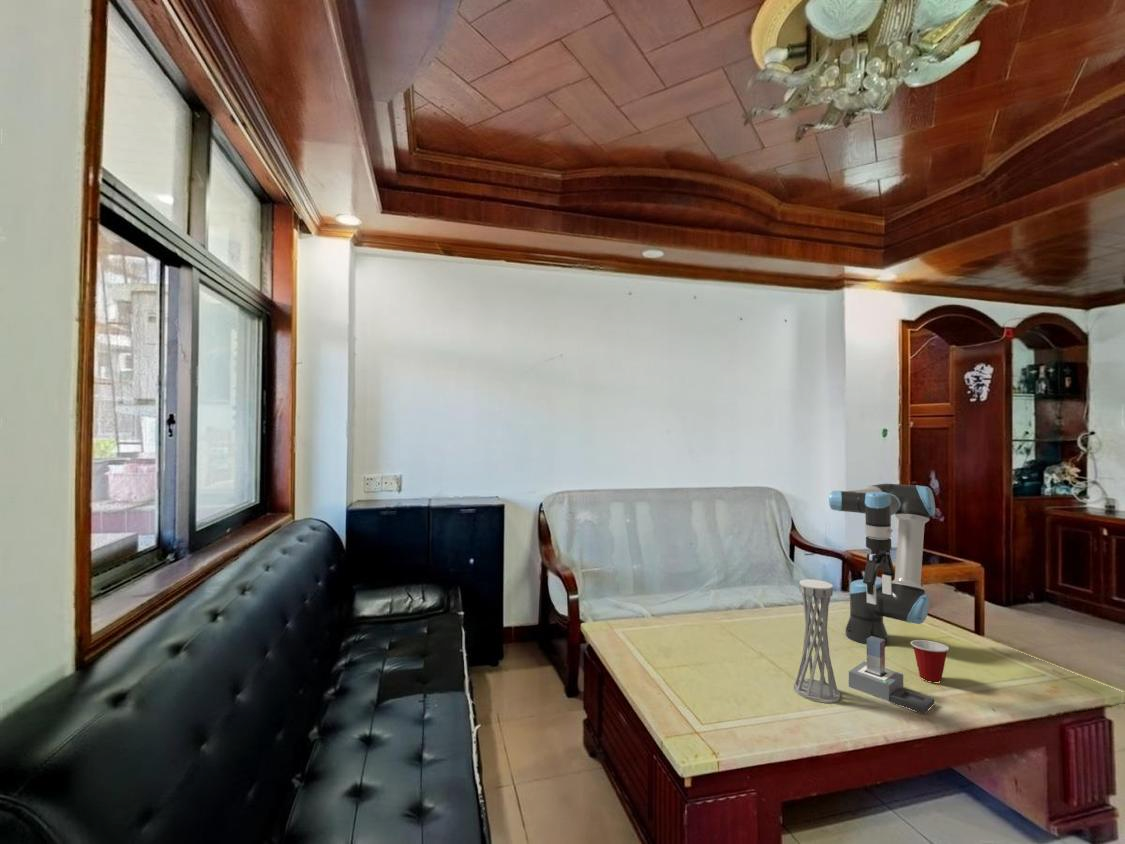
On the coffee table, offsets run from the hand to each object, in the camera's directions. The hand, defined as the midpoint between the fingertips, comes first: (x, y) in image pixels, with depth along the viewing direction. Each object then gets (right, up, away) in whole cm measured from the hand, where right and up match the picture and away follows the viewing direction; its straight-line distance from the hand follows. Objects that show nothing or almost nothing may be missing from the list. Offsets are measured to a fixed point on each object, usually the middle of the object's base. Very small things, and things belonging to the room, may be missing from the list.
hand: (879, 598), depth 179 cm
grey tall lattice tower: (-27, -27, -11) cm, 40 cm away
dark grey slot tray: (-1, -27, -18) cm, 32 cm away
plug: (-6, -26, -8) cm, 28 cm away
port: (-6, -27, -8) cm, 29 cm away
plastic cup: (+16, -27, -2) cm, 32 cm away
